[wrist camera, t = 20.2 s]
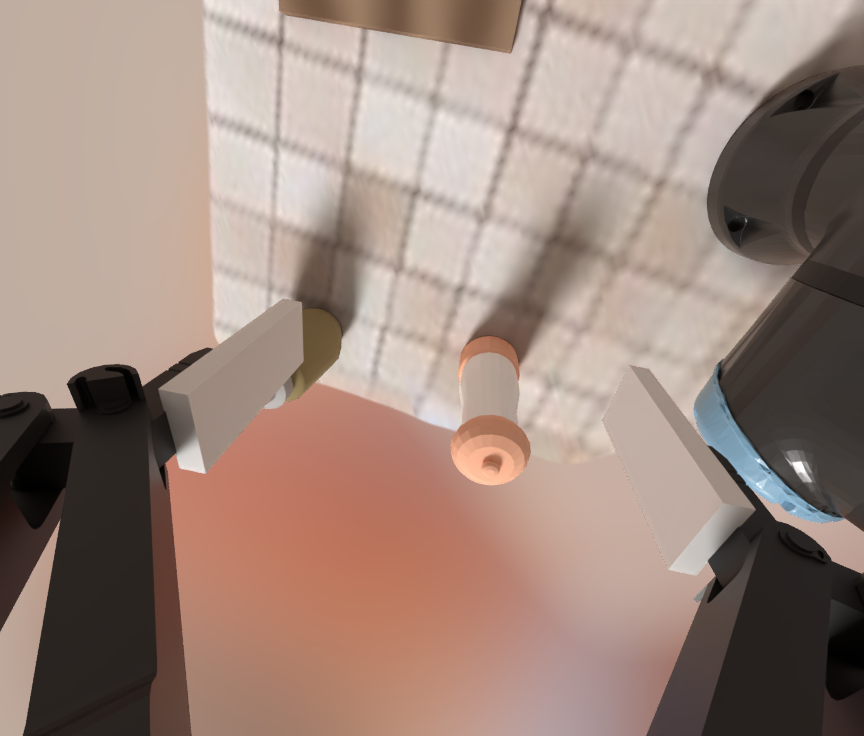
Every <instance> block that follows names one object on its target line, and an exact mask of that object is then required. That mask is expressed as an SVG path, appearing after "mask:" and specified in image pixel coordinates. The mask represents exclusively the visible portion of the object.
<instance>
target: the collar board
mask: <svg viewBox="0 0 864 736" xmlns="http://www.w3.org/2000/svg"><path fill="white" fill-rule="evenodd" d="M521 1H522V0H279V11H281V12H282V13H284V14H285V15H288V16H294V17H300V18H305V19H311V20H317V21H323V22H329V23H335V24H341V25H347V26H352V27H358V28H364V29H370V30H376V31H382V32H388V33H394V34H399V35H405V36H411V37H417V38H423V39H429V40H435V41H441V42H446V43H452V44H458V45H464V46H470V47H476V48H482V49H488V50H493V51H499V52H505V53H511V50H512V45H513V40H514V35H515V30H516V25H517V20H518V15H519V10H520V6H521Z"/></svg>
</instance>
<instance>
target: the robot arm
mask: <svg viewBox="0 0 864 736" xmlns="http://www.w3.org/2000/svg"><path fill="white" fill-rule="evenodd" d="M707 210H708V217H709V221H710V224H711V227H712V229H713V231H714V233H715V235H716V236H717V238H718V239H719V240H720V242H721V243H722V244H723V245H724V246H726V247H727V248H728V249H730V250H731V251H733V252H735V253H737V254H739V255H741V256H744V257H747V258H749V259H752V260H755V261H758V262H762V263H768V264H778V265H787V264H801V263H803V264H802V265H801V266H800V268H799V269H798V270H797V271H796V273H795V274H794V275H793V276H792V277H791V278H790V279H789V280H788V282H787V283H786V284H785V285H784V287H783V288H782V289H781V290H780V292H779V293H778V294H777V295H776V297H775V298H774V299H773V300H772V302H771V303H770V304H769V305H768V306H767V308H766V309H765V310H764V311H763V313H762V314H761V315H760V316H759V318H758V319H757V320H756V321H755V323H754V324H753V325H752V326H751V328H750V329H749V330H748V331H747V333H746V334H745V335H744V336H743V337H742V339H741V340H740V341H739V342H738V343H737V345H736V346H735V347H734V348H733V349H732V351H731V352H730V353H729V354H728V355H727V356H726V358H725V359H722V360H721V361H720V362H719V363H718V364H717V365H716V366H715V369H714V372H713V375H712V376H711V378H710V379H709V381H708V382H707V384H706V385H705V386H704V388H703V389H702V390H701V392H700V393H699V395H698V396H697V398H696V400H695V403H694V416H695V419H696V421H697V422H696V424H697V427H698V430H699V432H700V434H701V435H702V437H703V438H704V440H705V442H706V443H707V445H706V443H705V442H704V441H703V439H702V438H701V437H700V436H699V434H698V433H697V432H696V430H695V429H694V428H693V426H692V425H691V424H690V422H689V421H688V420H687V418H686V417H685V416H684V414H683V413H682V412H681V410H680V409H679V408H678V407H677V405H676V404H675V403H674V401H673V400H672V399H671V397H670V396H669V395H668V393H667V392H666V391H665V389H664V388H663V387H662V386H661V384H660V383H659V382H658V380H657V379H656V378H655V376H654V375H653V374H652V372H651V371H650V370H649V369H646V368H641V367H636V366H631V365H629V367H628V369H627V371H626V373H625V375H624V377H623V379H622V381H621V383H620V385H619V387H618V389H617V391H616V393H615V395H614V397H613V399H612V401H611V403H610V405H609V407H608V409H607V411H606V413H605V415H604V417H603V419H602V421H603V423H604V426H605V428H606V430H607V432H608V435H609V437H610V439H611V441H612V444H613V446H614V448H615V451H616V453H617V455H618V457H619V460H620V462H621V464H622V466H623V469H624V471H625V473H626V475H627V478H628V480H629V482H630V485H631V487H632V489H633V491H634V494H635V496H636V498H637V501H638V503H639V505H640V507H641V510H642V512H643V514H644V516H645V519H646V521H647V523H648V525H649V528H650V530H651V532H652V535H653V537H654V539H655V542H656V544H657V546H658V548H659V551H660V553H661V555H662V557H663V560H664V562H665V564H666V566H667V569H668V570H672V571H677V572H681V573H686V574H691V575H697V574H698V573H699V571H700V570H701V569H702V568H703V567H704V566H705V565H706V564H707V563H708V562H709V564H710V566H711V568H712V570H713V572H714V573H715V575H716V576H715V577H714V578H713V579H712V580H711V581H710V582H709V583H708V584H707V586H706V587H705V588H704V589H703V590H702V591H701V592H700V593H699V594H698V595H697V596H696V597H695V598H694V600H695V601H697V602H699V601H700V600H701V599H702V600H701V603H700V605H699V608H698V610H697V613H696V615H695V617H694V620H693V623H692V625H691V627H690V630H689V632H688V635H687V637H686V640H685V642H684V644H683V647H682V650H681V652H680V654H679V657H678V659H677V662H676V664H675V667H674V669H673V672H672V674H671V676H670V679H669V681H668V684H667V686H666V689H665V691H664V694H663V696H662V699H661V701H660V703H659V706H658V708H657V711H656V713H655V716H654V718H653V721H652V723H651V726H650V728H649V731H648V733H647V735H646V736H864V573H862V574H861V573H858V572H856V571H854V570H851V569H849V568H847V567H844V566H842V565H840V564H837V563H835V562H833V561H831V558H830V556H829V555H828V554H827V552H826V551H825V550H824V548H822V547H821V546H820V545H819V544H818V543H817V542H816V541H815V540H813V539H812V538H811V537H810V536H808V535H806V534H805V533H804V532H802V531H801V530H799V529H797V528H795V527H793V526H790V525H789V524H786V523H782V522H778V521H776V520H775V518H774V517H773V516H772V515H771V513H770V512H769V511H768V510H767V508H766V507H765V506H764V505H763V503H762V502H761V501H760V499H758V497H757V496H756V495H755V493H754V492H753V491H755V492H756V493H757V494H759V495H760V496H762V497H763V498H765V499H766V500H768V501H769V502H771V503H779V504H780V505H781V506H782V507H783V509H784V510H785V511H787V512H788V513H790V514H792V515H794V516H797V517H799V518H802V519H804V520H808V521H812V522H818V523H828V522H831V521H833V522H836V521H841V520H843V519H845V518H846V519H847V520H848V521H850V522H851V523H853V524H854V525H855V526H857V527H858V528H859V529H861V530H862V531H864V66H855V67H849V68H844V69H840V70H836V71H831V72H827V73H823V74H820V75H816V76H813V77H810V78H808V79H805V80H803V81H801V82H798V83H796V84H794V85H792V86H790V87H789V88H787V89H785V90H783V91H782V92H780V93H779V94H777V95H776V96H774V97H773V98H771V99H770V100H769V101H767V102H766V103H765V104H764V105H762V106H761V107H760V108H759V109H758V110H757V111H755V112H754V113H753V114H752V115H751V116H750V117H749V118H748V119H747V120H746V121H745V122H744V123H743V125H742V126H741V127H740V128H739V129H738V130H737V132H736V133H735V134H734V135H733V137H732V138H731V140H730V141H729V142H728V144H727V145H726V147H725V149H724V150H723V152H722V154H721V156H720V158H719V160H718V162H717V164H716V166H715V169H714V171H713V174H712V177H711V181H710V185H709V189H708V197H707ZM303 361H304V357H303V322H302V302H298V301H293V300H288V299H282V300H281V301H279V302H278V303H277V304H275V305H274V306H272V307H271V308H270V309H268V310H267V311H265V312H264V313H263V314H261V315H260V316H259V317H257V318H256V319H254V320H253V321H252V322H250V323H249V324H247V325H246V326H245V327H243V328H242V329H241V330H239V331H238V332H236V333H235V334H234V335H232V336H231V337H229V338H228V339H227V340H225V341H224V342H223V343H221V344H220V345H218V346H217V347H216V348H214V349H211V348H205V349H202V350H199V351H197V352H194V353H191V354H189V355H188V356H187V357H185V358H184V359H182V360H181V361H179V363H178V364H175V365H173V366H172V367H170V368H169V370H168V371H167V370H166V371H165V372H163V373H162V374H160V375H159V376H157V377H156V378H154V379H153V380H151V381H150V382H148V383H147V384H145V385H144V386H142V384H141V381H140V377H139V374H138V372H137V370H136V369H135V368H133V367H131V366H128V365H120V364H113V365H103V366H98V367H93V368H90V369H87V370H84V371H82V372H79V373H78V374H77V375H75V376H73V377H72V378H71V379H70V380H69V382H68V383H67V385H68V388H69V390H70V393H71V395H72V397H73V400H74V402H75V404H76V407H77V408H68V409H51V407H50V405H49V402H48V400H47V399H46V397H45V396H44V395H43V394H39V393H36V392H17V393H8V394H4V395H2V396H1V395H0V631H1V629H2V627H3V625H4V624H5V622H6V620H7V618H8V616H9V614H10V612H11V610H12V609H13V607H14V605H15V603H16V601H17V599H18V597H19V595H20V594H21V592H22V590H23V588H24V586H25V584H26V582H27V581H28V579H29V577H30V575H31V573H32V571H33V569H34V567H35V566H36V564H37V562H38V560H39V558H40V556H41V554H42V552H43V550H44V549H45V547H46V545H47V543H48V541H49V539H50V537H51V536H52V533H53V532H54V530H55V528H56V526H57V524H58V522H59V521H60V526H59V532H58V538H57V543H56V549H55V555H54V561H53V568H52V573H51V579H50V584H49V590H48V596H47V602H46V608H45V614H44V620H43V626H42V631H41V638H40V643H39V649H38V655H37V661H36V667H35V673H34V678H33V684H32V690H31V696H30V702H29V708H28V715H27V720H26V726H25V730H24V733H23V736H192V734H191V725H190V714H189V703H188V691H187V680H186V670H185V658H184V647H183V636H182V625H181V614H180V603H179V592H178V581H177V569H176V558H175V547H174V536H173V525H172V515H171V503H170V491H169V482H168V481H169V480H168V471H167V468H166V464H165V463H166V462H167V461H168V460H169V459H170V458H171V457H172V456H173V455H174V454H175V453H176V456H177V460H178V464H179V467H180V469H186V470H190V471H195V472H200V473H205V474H206V473H207V472H208V470H209V469H210V468H211V467H212V466H213V465H214V464H215V463H216V461H217V460H218V459H219V458H220V457H221V456H222V454H223V453H224V452H225V451H226V450H227V449H228V448H229V446H230V445H231V444H232V443H233V442H234V441H235V440H236V438H237V437H238V436H239V435H240V434H241V433H242V432H243V430H244V429H245V428H246V427H247V426H248V424H249V423H250V422H251V421H252V420H253V419H254V417H256V415H257V414H258V413H259V412H260V411H261V410H262V409H263V407H264V406H265V405H266V404H267V403H268V402H269V401H270V399H271V398H272V397H273V396H274V395H275V394H276V392H277V391H278V390H279V389H280V388H281V387H282V386H283V384H284V383H285V382H286V381H287V380H288V379H289V378H290V376H291V375H292V374H293V373H294V372H295V371H296V370H297V368H298V367H299V366H300V365H301V364H302V363H303ZM752 490H753V491H752ZM60 519H61V520H60Z"/></svg>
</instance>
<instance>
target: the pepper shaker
mask: <svg viewBox="0 0 864 736" xmlns="http://www.w3.org/2000/svg"><path fill="white" fill-rule="evenodd" d="M458 376H459V382H460V387H459V394H460V400H461V406H462V422H461V426H460V427H459V429H458V430H457V432H456V433H455V435H454V436H453V438H452V442H451V447H450V448H451V453H452V457H453V461H454V463H455V465H456V466H457V468H458V469H459V471H460V472H461V473H462V474H464V475H465V476H466V477H467V478H469V479H470V480H472V481H475V482H477V483H480V484H486V485H499V484H503V483H507V482H509V481H511V480H513V479H514V478H516V477H517V476H518V475H519V474H520V473H521V472H522V471H523V470H524V469H525V467H526V465H527V463H528V460H529V457H530V453H531V451H530V442H529V440H528V438H527V436H526V435H525V433H524V431H523V430H522V429H521V428H520V427H519V426H518V420H517V408H518V401H519V384H518V380H519V377H520V374H519V365H518V359H517V354H516V352H515V350H514V348H513V347H512V346H511V345H510V344H509V343H508V342H507V341H505V340H503V339H501V338H499V337H494V336H484V337H479V338H477V339H474V340H472V341H471V342H470V343H468V344H467V345H466V346H465V348H464V349H463V351H462V353H461V357H460V362H459V371H458Z"/></svg>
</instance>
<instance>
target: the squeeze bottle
mask: <svg viewBox="0 0 864 736" xmlns="http://www.w3.org/2000/svg"><path fill="white" fill-rule="evenodd" d="M302 322H303V357H304V361H303V363H302V364H301V365H300V366H299V367H298V368H297V370H296V371H295V372H294V373H293V374H292V375H291V376H290V378H289V379H288V380H287V381H286V382H285V383H284V384H283V386H282V387H281V388H280V389H279V390H278V391H277V392H276V394H275V395H274V396H273V397H272V398H271V399H270V401H269V402H268V403H267V404H266V405H265V406H264V407H263V408H265V409H275V408H278V407H280V406H282V404H283V403H284V402H285V401H288V402H290V401H292V400H295V399H298V398H300V397H301V396H302V395H303V393H305V392H306V391H307V390H308V389H309V388H310V387H311V386H312V385H313V384H314V383H315V382H316V381H317V380H318V379H319V378H320V377H321V376H322V375H323V374H324V373H325V372H326V371H327V370H328V369H329V368H330V367H331V366H332V365H333V364H334V363H335V361H336V360H337V359H338V358H339V354H340V350H341V340H342V333H341V327H340V324H339V323H338V321H337V320H336V318H335V317H334V316H333V315H331V314H330V313H329V312H328V311H325V310H322V309H320V308H309V309H302Z"/></svg>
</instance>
